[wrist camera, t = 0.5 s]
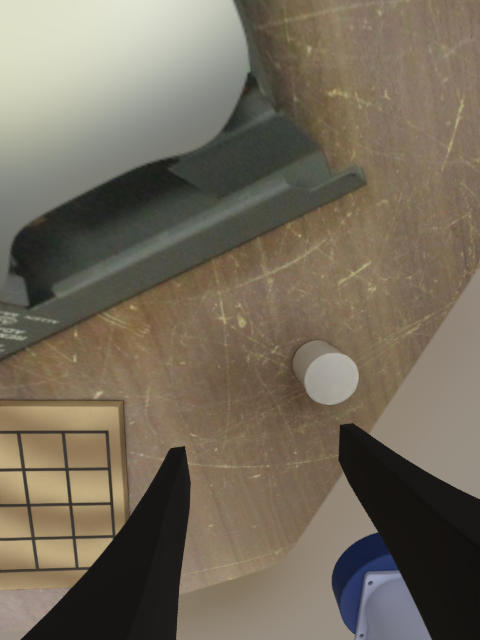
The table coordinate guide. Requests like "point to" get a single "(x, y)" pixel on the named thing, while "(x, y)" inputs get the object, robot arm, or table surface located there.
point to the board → (59, 489)
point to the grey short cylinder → (325, 372)
